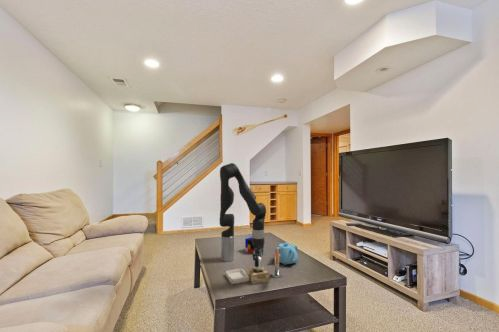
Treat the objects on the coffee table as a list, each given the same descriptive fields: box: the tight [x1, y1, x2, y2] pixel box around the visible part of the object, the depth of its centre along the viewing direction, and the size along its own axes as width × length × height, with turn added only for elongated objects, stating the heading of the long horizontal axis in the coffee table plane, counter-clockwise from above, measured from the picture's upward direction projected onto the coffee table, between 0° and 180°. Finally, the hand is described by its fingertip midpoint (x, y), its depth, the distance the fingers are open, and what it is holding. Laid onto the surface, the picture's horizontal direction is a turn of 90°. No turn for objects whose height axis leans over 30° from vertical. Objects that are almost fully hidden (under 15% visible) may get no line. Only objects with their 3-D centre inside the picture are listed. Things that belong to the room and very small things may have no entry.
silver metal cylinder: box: [253, 256, 263, 273], centre depth 138 cm, size 4×4×11 cm
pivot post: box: [269, 264, 284, 279], centre depth 143 cm, size 6×6×11 cm
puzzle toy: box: [244, 236, 255, 255], centre depth 187 cm, size 10×10×10 cm
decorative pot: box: [273, 242, 299, 266], centre depth 165 cm, size 16×16×14 cm
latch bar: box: [273, 247, 280, 266], centre depth 137 cm, size 4×16×9 cm, turn 174°
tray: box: [225, 268, 251, 285], centre depth 139 cm, size 13×11×2 cm
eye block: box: [246, 266, 270, 285], centre depth 138 cm, size 10×10×5 cm
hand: (258, 264), depth 138 cm, fingers closed on silver metal cylinder, 4 cm apart
